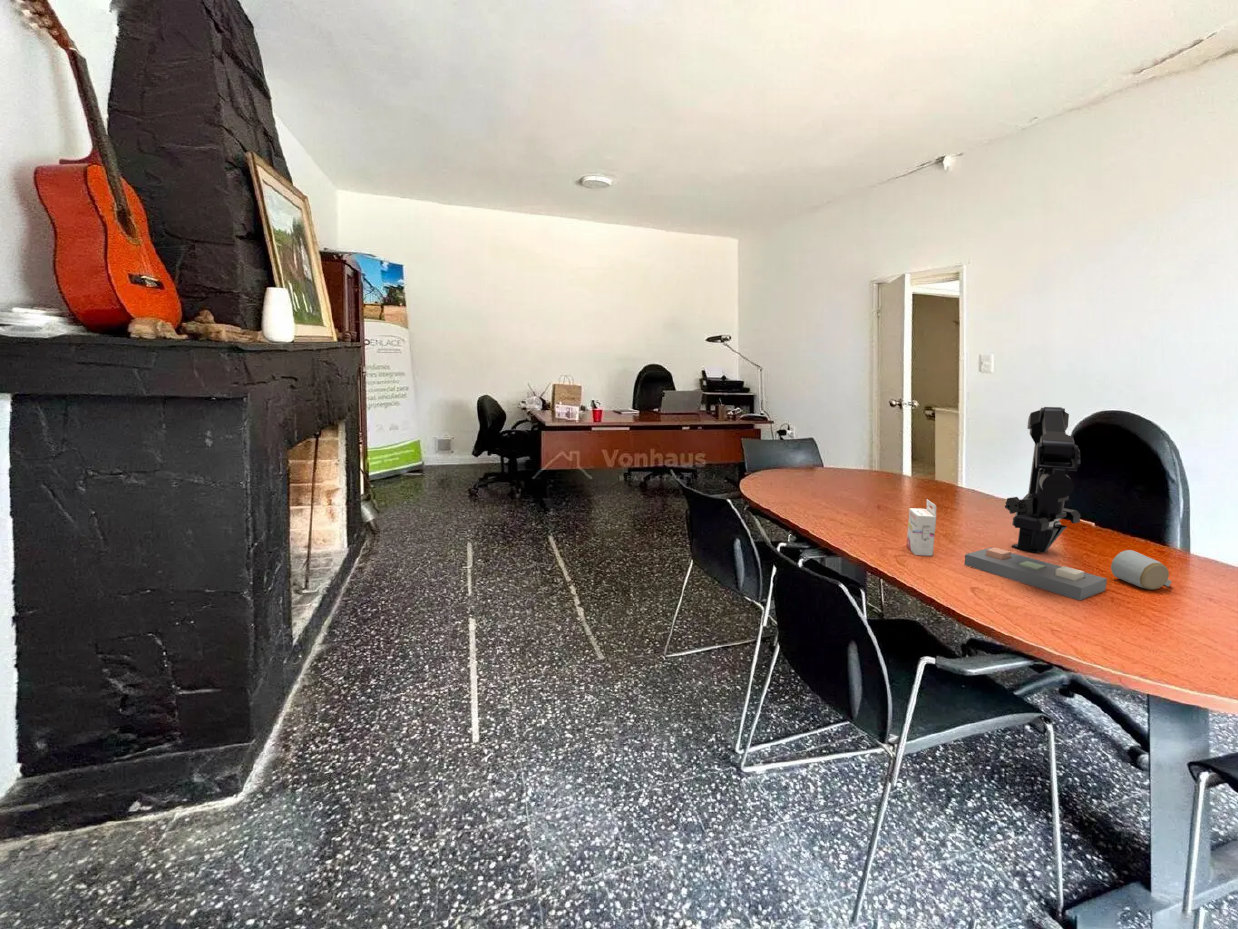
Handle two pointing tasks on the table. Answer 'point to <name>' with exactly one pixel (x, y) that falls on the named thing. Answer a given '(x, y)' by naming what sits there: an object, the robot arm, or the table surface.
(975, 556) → the console
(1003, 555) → the terracotta button
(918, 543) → the ink cartridge box
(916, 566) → the table surface
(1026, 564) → the sage button
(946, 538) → the table surface
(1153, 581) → the ceramic mug
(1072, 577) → the cream button
